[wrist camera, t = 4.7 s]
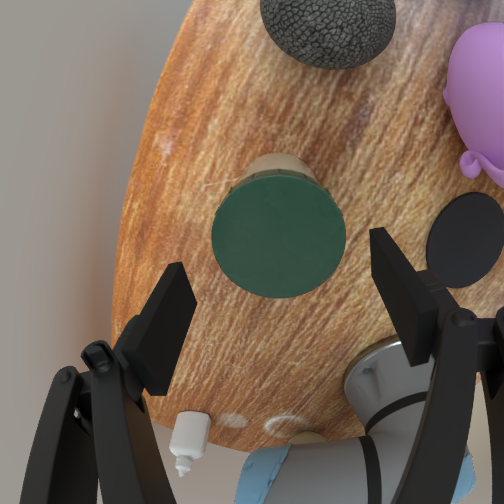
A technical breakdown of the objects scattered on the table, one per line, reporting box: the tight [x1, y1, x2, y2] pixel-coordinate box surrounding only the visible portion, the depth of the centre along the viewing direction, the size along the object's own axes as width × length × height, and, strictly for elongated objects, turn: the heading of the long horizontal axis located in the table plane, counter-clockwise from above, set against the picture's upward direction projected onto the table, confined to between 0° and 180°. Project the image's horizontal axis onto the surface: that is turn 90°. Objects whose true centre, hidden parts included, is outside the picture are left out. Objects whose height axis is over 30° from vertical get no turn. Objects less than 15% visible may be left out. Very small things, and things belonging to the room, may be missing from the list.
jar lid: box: [211, 168, 346, 298], centre depth 20 cm, size 8×8×2 cm
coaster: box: [426, 192, 504, 288], centre depth 29 cm, size 12×12×1 cm
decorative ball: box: [260, 0, 396, 69], centre depth 17 cm, size 10×10×10 cm
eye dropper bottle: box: [170, 411, 211, 477], centre depth 41 cm, size 4×6×12 cm
